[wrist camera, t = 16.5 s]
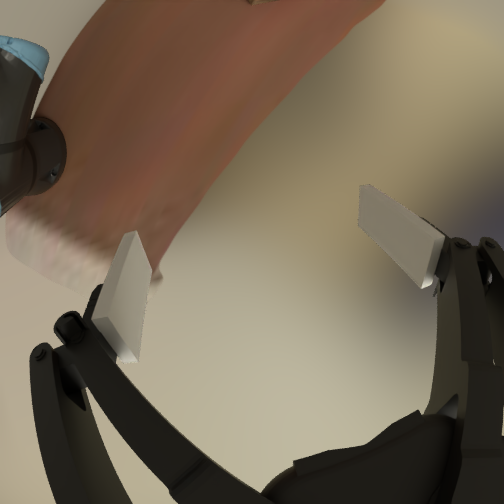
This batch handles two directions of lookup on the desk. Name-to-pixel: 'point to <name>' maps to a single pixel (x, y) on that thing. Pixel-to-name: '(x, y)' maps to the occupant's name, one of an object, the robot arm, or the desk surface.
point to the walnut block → (259, 1)
